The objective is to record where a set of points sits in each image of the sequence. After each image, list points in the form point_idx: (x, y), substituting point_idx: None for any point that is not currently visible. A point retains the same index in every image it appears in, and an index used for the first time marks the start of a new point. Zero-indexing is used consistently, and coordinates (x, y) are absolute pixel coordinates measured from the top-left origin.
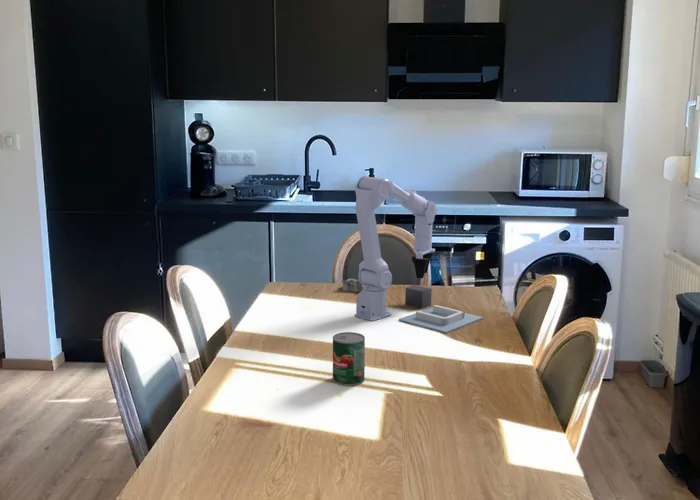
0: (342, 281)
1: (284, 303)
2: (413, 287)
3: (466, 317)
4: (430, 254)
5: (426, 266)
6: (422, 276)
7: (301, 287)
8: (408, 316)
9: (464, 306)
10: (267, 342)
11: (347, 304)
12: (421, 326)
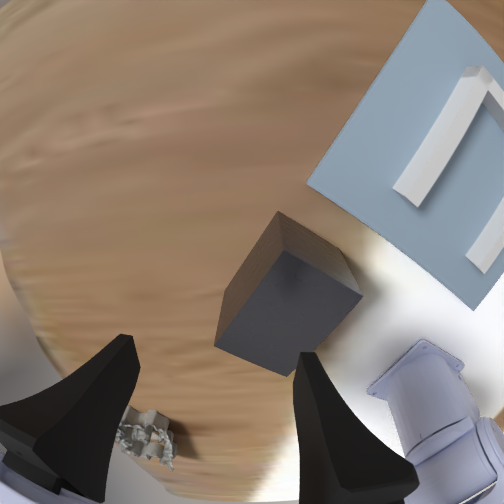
0: (172, 469)
1: None
2: (274, 348)
3: (457, 56)
4: (49, 448)
5: (109, 375)
6: (318, 366)
7: (188, 483)
8: (456, 288)
9: (250, 39)
10: None
11: None
12: None
